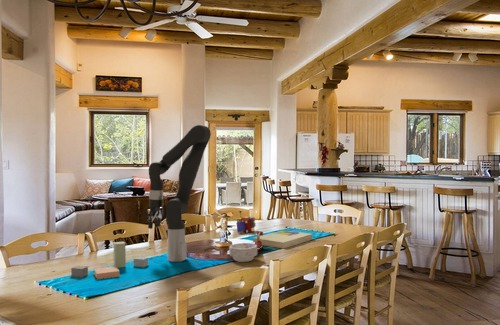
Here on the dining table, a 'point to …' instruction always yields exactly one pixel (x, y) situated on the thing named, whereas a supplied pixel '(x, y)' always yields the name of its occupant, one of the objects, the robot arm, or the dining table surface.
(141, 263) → the light gray block
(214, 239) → the dining table surface
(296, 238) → the puzzle box
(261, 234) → the toy fire truck
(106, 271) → the terracotta base brick
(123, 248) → the sage tower brick
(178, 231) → the robot arm
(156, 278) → the dining table surface
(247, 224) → the robot toy
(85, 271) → the grey rectangular block
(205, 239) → the dining table surface
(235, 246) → the paper bowls
